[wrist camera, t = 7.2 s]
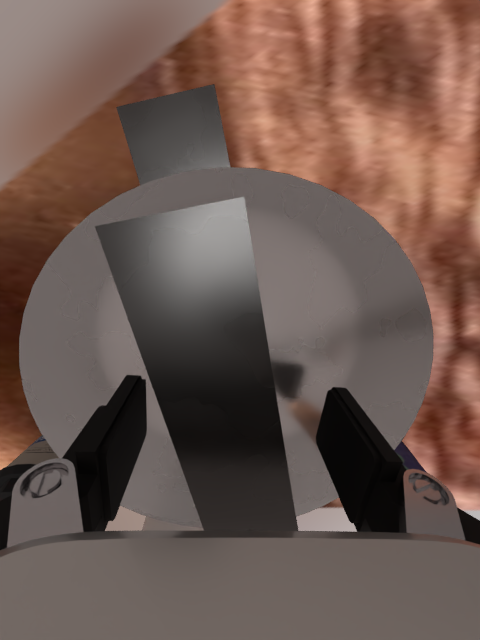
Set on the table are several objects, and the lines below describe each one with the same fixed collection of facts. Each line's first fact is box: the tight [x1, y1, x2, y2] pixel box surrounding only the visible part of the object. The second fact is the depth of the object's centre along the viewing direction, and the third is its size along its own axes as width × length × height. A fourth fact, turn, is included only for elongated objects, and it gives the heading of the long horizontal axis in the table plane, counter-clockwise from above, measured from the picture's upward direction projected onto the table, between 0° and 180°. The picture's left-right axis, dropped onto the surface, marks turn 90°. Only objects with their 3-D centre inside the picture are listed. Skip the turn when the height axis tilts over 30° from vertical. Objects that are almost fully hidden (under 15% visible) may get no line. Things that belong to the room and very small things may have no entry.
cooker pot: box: [117, 84, 230, 185], centre depth 19 cm, size 18×26×12 cm
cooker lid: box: [19, 167, 433, 531], centre depth 11 cm, size 19×19×6 cm
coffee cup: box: [0, 435, 59, 501], centre depth 24 cm, size 7×7×10 cm
